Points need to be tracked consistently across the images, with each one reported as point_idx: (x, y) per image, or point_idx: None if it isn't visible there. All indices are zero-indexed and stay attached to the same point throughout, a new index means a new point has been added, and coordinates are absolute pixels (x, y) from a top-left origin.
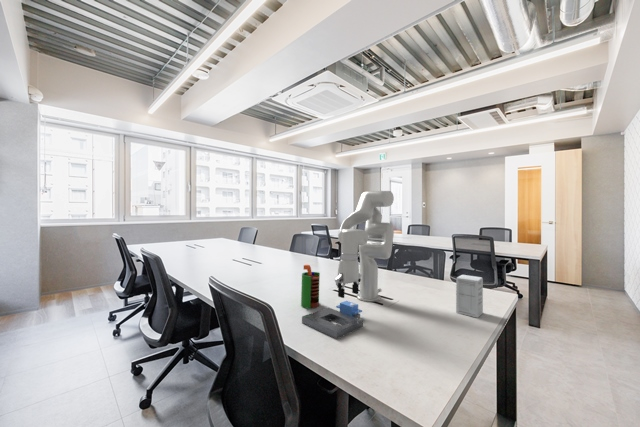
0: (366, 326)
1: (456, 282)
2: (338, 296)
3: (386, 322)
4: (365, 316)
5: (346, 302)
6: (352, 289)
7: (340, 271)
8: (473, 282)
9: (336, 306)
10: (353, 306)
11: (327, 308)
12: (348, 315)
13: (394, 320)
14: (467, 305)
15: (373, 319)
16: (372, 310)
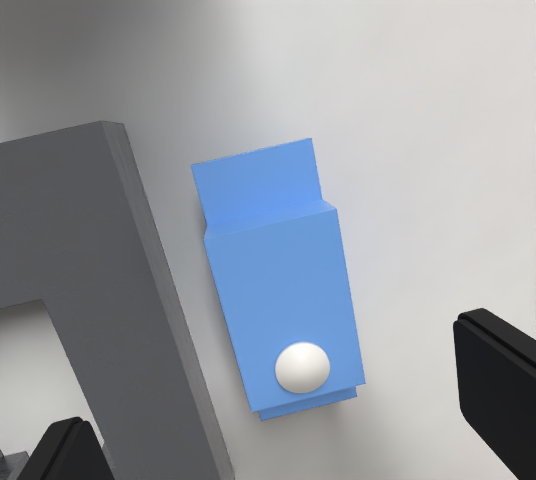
0: (259, 474)
1: None
2: (57, 428)
3: (421, 474)
4: (381, 341)
5: (291, 268)
6: (498, 355)
7: None
8: None
9: (192, 171)
10: (280, 403)
11: (71, 143)
12: (183, 403)
13: (490, 471)
14: None
15: (388, 407)
16: (530, 266)
